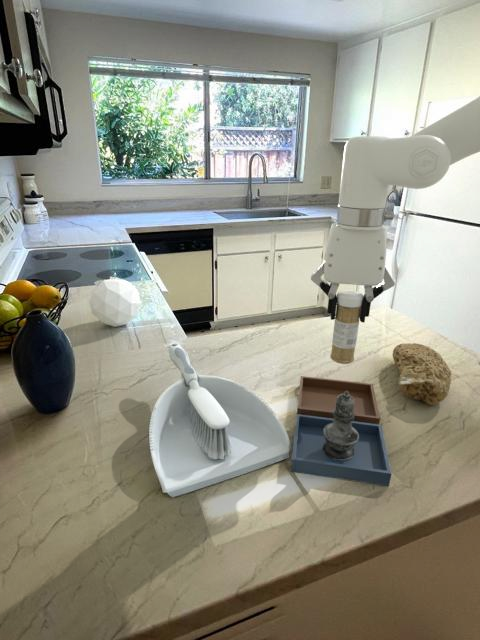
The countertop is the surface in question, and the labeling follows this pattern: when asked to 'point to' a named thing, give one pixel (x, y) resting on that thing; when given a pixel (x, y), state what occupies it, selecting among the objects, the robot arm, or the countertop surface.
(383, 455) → the tray blue
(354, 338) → the sprinkles bottle
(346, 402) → the grey stone figurine
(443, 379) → the sponge
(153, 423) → the dustpan and brush
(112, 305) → the geodesic sphere
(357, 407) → the tray walnut
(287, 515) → the countertop surface
